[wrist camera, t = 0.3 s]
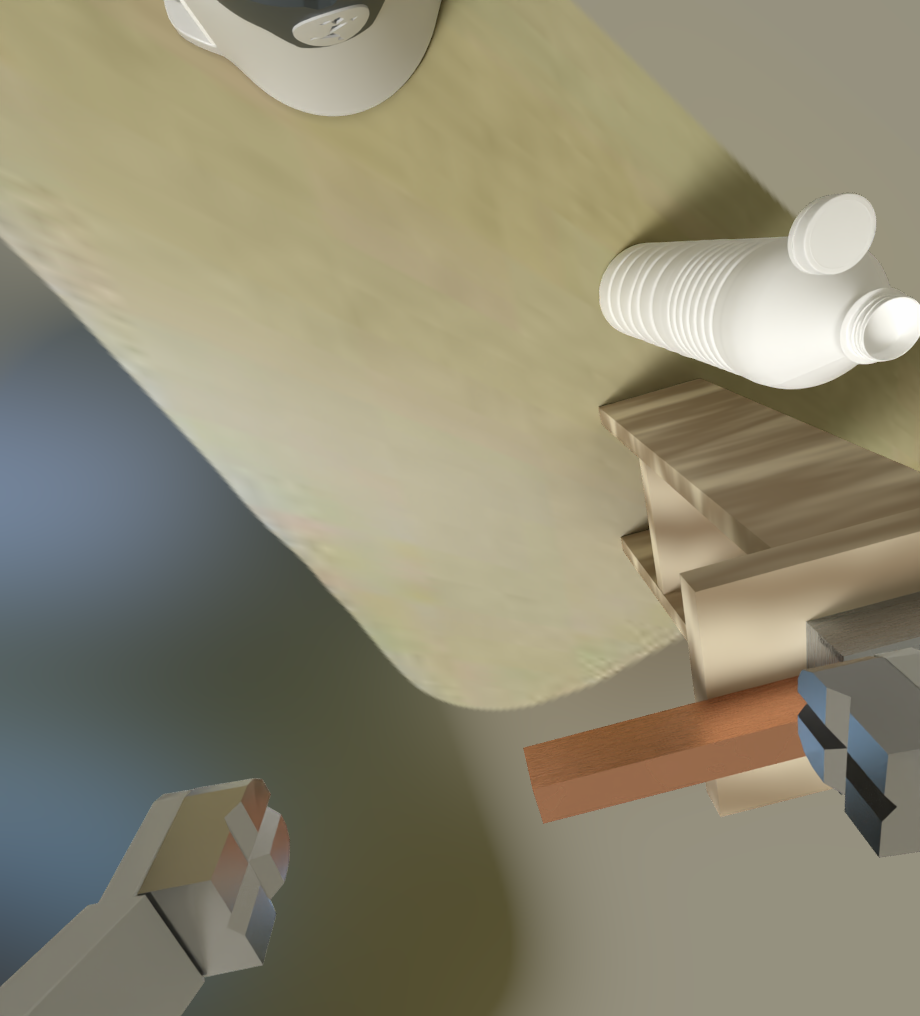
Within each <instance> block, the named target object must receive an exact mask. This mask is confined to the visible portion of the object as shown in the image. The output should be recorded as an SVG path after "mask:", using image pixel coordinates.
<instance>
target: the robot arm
mask: <svg viewBox="0 0 920 1016" xmlns="http://www.w3.org/2000/svg"><path fill="white" fill-rule="evenodd" d="M164 3H165V7H166V11H167V14H168V17H169V19H170V21H171V23H172V24H173V26H174V27H175V29H176V30H177V32H178V33H179V34H180V35H181V36H182V37H183V38H185V39H186V40H188V41H189V42H191V43H193V44H195V45H197V46H199V47H201V48H204V49H206V50H209V51H211V52H214V53H216V54H219V55H222V56H224V57H226V58H227V59H228V60H230V61H231V62H232V63H234V64H235V65H236V66H237V67H238V68H239V69H240V70H241V71H242V72H243V73H244V74H245V75H247V76H248V77H249V78H250V79H251V80H252V81H253V82H254V83H255V84H256V85H257V86H259V87H260V88H261V89H262V90H263V91H265V92H266V93H268V94H269V95H270V96H272V97H273V98H275V99H277V100H278V101H280V102H282V103H284V104H286V105H288V106H290V107H292V108H295V109H297V110H300V111H303V112H307V113H311V114H316V115H322V116H344V115H350V114H355V113H359V112H362V111H365V110H368V109H370V108H372V107H374V106H376V105H378V104H380V103H381V102H383V101H385V100H386V99H388V98H389V97H390V96H392V95H393V94H394V93H395V92H396V91H397V90H398V89H400V88H401V87H402V86H403V85H404V83H405V82H406V81H407V80H408V79H409V78H410V76H411V75H412V74H413V72H414V71H415V69H416V68H417V66H418V65H419V63H420V61H421V60H422V58H423V56H424V54H425V52H426V50H427V47H428V45H429V42H430V40H431V37H432V34H433V31H434V28H435V24H436V20H437V16H438V12H439V8H440V4H441V0H164ZM798 693H799V694H800V695H801V696H802V698H803V699H804V700H805V701H806V702H807V704H806V705H805V706H804V708H803V709H802V710H801V711H800V713H799V714H798V715H797V716H798V734H799V737H800V740H801V743H802V747H803V750H804V753H805V755H806V756H807V758H808V760H809V762H810V764H811V766H812V768H813V769H814V770H815V772H816V773H817V775H818V776H819V777H820V779H821V780H822V782H823V783H824V784H826V785H828V786H830V787H832V788H834V789H835V790H837V791H839V792H841V793H843V794H845V813H846V814H847V815H848V817H849V818H850V819H851V821H852V822H853V823H854V825H855V826H856V827H857V829H858V830H859V831H860V833H861V834H862V835H863V837H864V838H865V840H866V841H867V842H868V843H869V845H870V846H871V847H872V849H873V850H874V851H875V853H876V854H877V856H878V857H879V858H880V857H886V856H894V855H901V854H907V853H914V852H920V650H918V649H915V648H912V647H910V648H905V649H900V650H895V651H891V652H886V653H881V654H876V655H874V656H867V657H862V658H857V659H853V660H848V661H843V662H838V663H833V664H828V665H824V666H819V667H814V668H809V669H804V670H802V671H801V673H800V675H799V677H798ZM270 795H271V794H270V792H269V790H268V788H267V787H266V785H265V783H264V781H263V780H262V779H256V778H253V779H247V780H242V781H235V782H229V783H223V784H217V785H211V786H205V787H199V788H194V789H192V790H186V791H180V792H174V793H168V794H163V795H162V796H161V797H160V798H158V799H157V800H156V801H155V802H154V803H153V804H152V806H151V808H150V810H149V812H148V814H147V815H146V817H145V819H144V821H143V823H142V825H141V826H140V828H139V830H138V832H137V834H136V835H135V837H134V839H133V841H132V843H131V844H130V846H129V848H128V850H127V852H126V854H125V855H124V857H123V859H122V861H121V863H120V865H119V866H118V868H117V870H116V872H115V874H114V876H113V877H112V879H111V881H110V883H109V885H108V886H107V888H106V890H105V892H104V894H103V895H102V897H101V899H100V901H99V903H97V904H92V905H88V906H87V907H86V908H84V909H83V910H82V911H81V912H80V913H79V914H78V915H77V916H76V917H75V918H74V919H73V920H72V921H71V922H69V924H67V925H66V926H65V927H64V928H63V929H62V930H61V931H60V932H59V933H58V934H57V935H56V936H54V937H53V938H52V939H51V940H50V941H49V942H48V943H47V944H46V945H45V946H44V947H43V948H42V949H40V950H39V952H37V953H36V954H35V955H34V956H33V957H32V958H31V959H30V960H29V961H28V962H27V963H25V964H24V965H23V966H22V967H21V968H20V969H19V970H18V971H17V972H16V973H15V974H14V975H13V976H12V977H11V978H9V979H8V980H7V981H6V982H5V983H4V984H3V985H2V986H1V987H0V1016H181V1015H182V1013H183V1012H184V1010H185V1009H186V1007H187V1006H188V1005H189V1003H190V1002H191V1000H192V999H193V997H194V996H195V995H196V993H197V992H198V990H199V989H200V987H201V986H202V984H203V983H204V981H205V980H204V978H203V977H208V976H213V975H217V974H222V973H227V972H232V971H236V970H241V969H246V968H251V967H255V966H261V965H263V963H264V959H265V955H266V951H267V948H268V944H269V940H270V936H271V932H272V929H273V925H274V921H275V917H276V912H275V909H274V907H273V905H272V903H271V898H272V897H273V895H274V894H275V893H276V892H277V891H278V889H279V888H280V887H281V886H282V885H283V883H284V882H285V878H286V874H287V869H288V866H289V853H290V851H289V850H290V839H289V835H288V830H287V826H286V824H285V822H284V820H283V818H282V815H281V814H279V813H278V812H276V811H274V810H273V809H271V808H269V807H267V804H268V801H269V798H270Z"/></svg>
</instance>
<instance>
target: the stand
mask: <svg viewBox="0 0 920 1016" xmlns="http://www.w3.org/2000/svg"><path fill="white" fill-rule="evenodd" d="M599 412H600V418H601V424H602V425H603V426H604V427H605V428H606V429H607V430H609V431H610V432H611V433H612V434H613V435H614V436H615V437H616V438H617V439H619V440H620V441H621V442H622V443H623V444H624V445H625V446H626V447H628V448H629V449H630V450H631V451H632V452H633V453H634V454H635V455H636V456H638V457H639V460H640V467H641V474H642V481H643V487H644V494H645V501H646V508H647V515H648V522H649V530H645V531H642V532H638V533H635V534H631V535H627V536H624V537H621V541H622V547H623V551H624V553H625V554H626V556H627V557H628V558H629V560H630V561H631V563H632V564H633V565H634V567H635V568H636V570H637V571H638V572H639V574H640V575H641V577H642V578H643V580H644V581H645V582H646V584H647V585H648V587H649V588H650V589H651V591H652V592H653V594H654V595H655V596H656V598H657V599H658V601H659V602H660V603H661V605H662V606H663V608H664V609H665V610H666V612H667V613H668V615H669V616H670V617H671V619H672V620H673V622H674V623H675V624H676V626H677V627H678V629H679V630H680V631H681V633H682V634H683V636H684V637H685V638H686V640H687V641H688V647H689V654H690V662H691V671H692V679H693V686H694V695H695V703H696V702H700V701H704V700H707V699H711V698H715V697H719V696H723V695H726V694H730V693H734V692H738V691H742V690H745V689H749V688H753V687H757V686H761V685H764V684H768V683H772V682H776V681H780V680H784V679H787V678H791V677H795V676H799V675H800V673H801V671H802V670H804V669H807V651H806V622H807V621H810V620H814V619H818V618H822V617H825V616H829V615H833V614H837V613H840V612H844V611H848V610H852V609H855V608H859V607H863V606H867V605H870V604H874V603H878V602H882V601H885V600H889V599H893V598H897V597H900V596H904V595H908V594H912V593H916V592H919V591H920V472H919V471H917V470H914V469H912V468H910V467H907V466H905V465H903V464H900V463H898V462H896V461H893V460H891V459H888V458H886V457H884V456H881V455H879V454H877V453H874V452H872V451H870V450H867V449H865V448H863V447H860V446H858V445H856V444H853V443H851V442H849V441H846V440H844V439H842V438H839V437H837V436H835V435H832V434H830V433H828V432H825V431H823V430H821V429H818V428H816V427H814V426H811V425H809V424H807V423H804V422H802V421H800V420H797V419H795V418H793V417H790V416H788V415H785V414H783V413H781V412H778V411H776V410H774V409H771V408H769V407H767V406H764V405H762V404H760V403H757V402H755V401H753V400H750V399H748V398H746V397H743V396H741V395H739V394H736V393H734V392H732V391H729V390H727V389H725V388H722V387H720V386H718V385H715V384H713V383H711V382H708V381H706V380H704V379H701V378H699V379H695V380H692V381H688V382H685V383H681V384H678V385H674V386H671V387H667V388H664V389H660V390H657V391H653V392H650V393H646V394H643V395H639V396H636V397H633V398H629V399H626V400H622V401H619V402H615V403H612V404H608V405H605V406H601V407H599ZM706 789H707V793H708V795H709V797H710V799H711V800H712V802H713V804H714V806H715V808H716V809H717V811H718V813H719V815H720V817H723V816H727V815H731V814H735V813H739V812H743V811H747V810H751V809H755V808H759V807H763V806H766V805H771V804H774V803H778V802H782V801H786V800H790V799H794V798H798V797H802V796H806V795H810V794H814V793H818V792H822V791H826V790H829V789H834V788H832V787H830V786H828V785H826V784H824V783H823V782H822V780H821V779H820V777H819V776H818V775H817V773H816V772H815V770H814V769H813V768H812V766H811V764H810V762H809V760H808V758H807V756H805V757H801V758H797V759H793V760H789V761H785V762H781V763H777V764H773V765H770V766H766V767H762V768H758V769H754V770H750V771H746V772H742V773H738V774H735V775H731V776H727V777H723V778H719V779H715V780H711V781H707V782H706Z"/></svg>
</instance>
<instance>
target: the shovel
mask: <svg viewBox="0 0 920 1016" xmlns="http://www.w3.org/2000/svg"><path fill="white" fill-rule="evenodd" d="M910 647H912V648H915V649H918V650H920V591H919V592H916V593H912V594H908V595H904V596H900V597H897V598H893V599H889V600H885V601H882V602H878V603H874V604H870V605H867V606H863V607H859V608H855V609H852V610H848V611H844V612H840V613H837V614H833V615H829V616H825V617H822V618H818V619H814V620H810V621H807V622H806V651H807V669H809V668H814V667H819V666H824V665H828V664H833V663H838V662H843V661H848V660H853V659H857V658H862V657H867V656H874V655H876V654H881V653H886V652H891V651H895V650H900V649H905V648H910ZM798 677H799V676H795V677H791V678H787V679H784V680H780V681H776V682H772V683H768V684H764V685H761V686H757V687H753V688H749V689H745V690H742V691H738V692H734V693H730V694H726V695H723V696H719V697H715V698H711V699H707V700H704V701H700V702H696V703H692V704H688V705H685V706H681V707H677V708H673V709H670V710H665V711H662V712H658V713H654V714H650V715H646V716H643V717H639V718H635V719H631V720H627V721H624V722H620V723H616V724H613V725H609V726H605V727H601V728H597V729H593V730H589V731H586V732H582V733H578V734H574V735H571V736H567V737H563V738H559V739H555V740H551V741H547V742H544V743H540V744H536V745H532V746H529V747H525V748H523V749H524V753H525V758H526V762H527V766H528V771H529V775H530V780H531V784H532V789H533V792H534V795H535V798H536V802H537V804H538V808H539V811H540V814H541V818H542V821H543V824H544V823H548V822H552V821H555V820H559V819H563V818H567V817H571V816H575V815H579V814H583V813H587V812H590V811H594V810H598V809H602V808H606V807H610V806H614V805H618V804H622V803H626V802H629V801H633V800H637V799H641V798H645V797H649V796H653V795H657V794H660V793H664V792H668V791H672V790H676V789H680V788H683V787H688V786H692V785H695V784H699V783H703V782H707V781H711V780H715V779H719V778H723V777H727V776H731V775H735V774H738V773H742V772H746V771H750V770H754V769H758V768H762V767H766V766H770V765H773V764H777V763H781V762H785V761H789V760H793V759H797V758H801V757H805V756H806V755H805V753H804V750H803V747H802V743H801V740H800V737H799V734H798V716H797V715H798V714H799V713H800V711H801V710H802V709H803V708H804V706H805V705H806V704H807V702H806V701H805V700H804V699H803V698H802V696H801V695H800V694H799V693H798ZM838 792H839V791H838ZM839 793H840V794H841V795H842V794H843V793H841V792H839Z"/></svg>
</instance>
